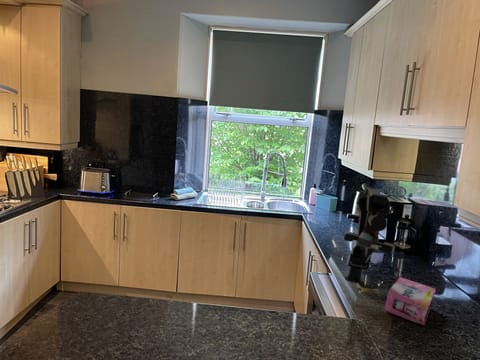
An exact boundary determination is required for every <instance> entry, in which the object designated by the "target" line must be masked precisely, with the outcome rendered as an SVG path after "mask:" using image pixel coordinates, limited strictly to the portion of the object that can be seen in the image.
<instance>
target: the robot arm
mask: <svg viewBox="0 0 480 360" xmlns="http://www.w3.org/2000/svg"><path fill="white" fill-rule="evenodd" d="M355 203H356V209H357V212H358V215H359V217H358V224H357V232H356V233H355V232H352V231H349V232H346V233H344V237H343V240H344V241H347V242H349V243H351V242H353V241H355V246H354V247H353V248H352V249H351V251H350V252H349V254H348V256H347V259H346V265H347V267H349V269H348V274H347V276H345V277H344V280H347V281H350V282H353V283H356V284H361V283H362V282H363V281H364V279H363V278H362V276H363V272H364V271H368V270H369V266H370V263H371V262H372V261H371V256H372V254H374V252H377V251H379V249H380V250H381V251H382V252H383V253H387V254H390V255H391V254H393V253H394V252H395V250H396V246H395V244H394V243H390V242H386V241H384V242H382V243H381V242H379V241H380V239H379V238H380V237H379V235H380V232H382V231H384V230H386V228H387V226H388V222H387V219H386V218H385V215H386V216H389V214H390V212H391V208H390V207H391V202H390V199H389V197H388V196H387V195H385V194H384V195H382V194H380V192H379V189H377V188H374V187H368V186H367V187H365V188H364V190H362V191H360V192H359V193H358V195H357V198H356V202H355Z"/></svg>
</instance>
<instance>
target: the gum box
mask: <svg viewBox="0 0 480 360" xmlns="http://www.w3.org/2000/svg"><path fill="white" fill-rule="evenodd" d="M435 293H436V288H434V287H431V286H428V285H425V284H423V283H419V282H417V281H413V280H409V279H407V278H404V277H401V276H400V277H399V278H398V279H397V280H396V281H395V283H394V284H393V285H392V286H391V288H390V289H389V290H388V293H387V297H386V301H385V306H384V309H383V310H384V311H386V312H388V313H390V312H391V313H390V314H393V313H394V314H393V315H395V314H396V315H395V316H398V315H399V316H398V317H400V316H401V317H400V318H403V317H404V319H406V320H408V319H409V320H408V321H411V320H412V321H411V322H413V321H414V323H416V322H417V323H416V324H420V325H423V326H425V324H426V321H427V319H428V315H429V313H430V311H431V308H432V305H433V301H434V296H435Z"/></svg>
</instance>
